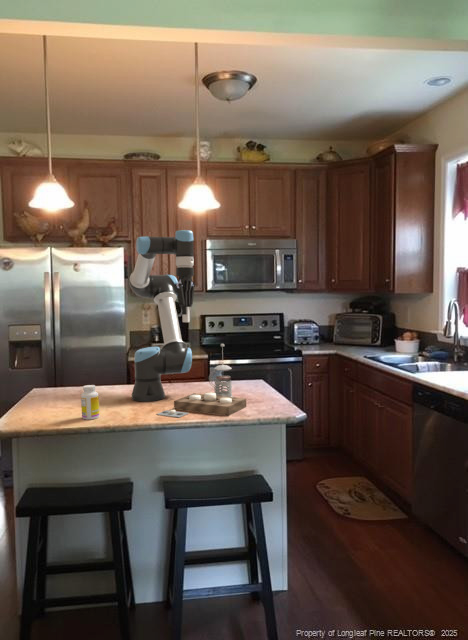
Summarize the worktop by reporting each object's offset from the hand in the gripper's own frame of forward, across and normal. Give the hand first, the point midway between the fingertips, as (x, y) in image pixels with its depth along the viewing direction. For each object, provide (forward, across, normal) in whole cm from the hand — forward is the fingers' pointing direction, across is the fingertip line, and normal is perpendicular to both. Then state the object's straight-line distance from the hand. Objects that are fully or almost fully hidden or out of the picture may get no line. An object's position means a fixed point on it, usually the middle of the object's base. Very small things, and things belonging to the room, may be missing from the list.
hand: (186, 322), depth 220 cm
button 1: (+35, -1, -5) cm, 35 cm away
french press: (+36, +18, -7) cm, 41 cm away
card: (+36, -16, -3) cm, 40 cm away
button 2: (+33, -1, -12) cm, 35 cm away
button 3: (+35, -1, -20) cm, 40 cm away
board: (+36, -1, -12) cm, 38 cm away
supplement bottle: (+36, -34, +24) cm, 55 cm away
